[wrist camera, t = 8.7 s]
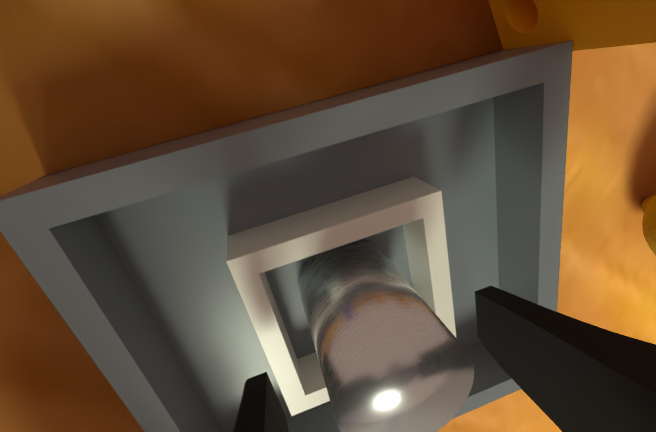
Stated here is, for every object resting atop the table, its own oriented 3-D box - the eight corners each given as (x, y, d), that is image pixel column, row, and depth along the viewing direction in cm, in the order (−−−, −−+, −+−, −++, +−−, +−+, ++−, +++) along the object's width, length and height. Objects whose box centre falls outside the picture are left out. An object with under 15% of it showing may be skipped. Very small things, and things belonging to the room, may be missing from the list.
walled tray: (508, 334, 19) (552, 374, 17) (214, 454, 17) (210, 524, 14) (503, 49, 13) (573, 40, 11) (45, 175, 11) (-18, 205, 8)
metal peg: (396, 296, 15) (481, 411, 10) (315, 331, 15) (358, 470, 10) (375, 222, 14) (463, 311, 8) (284, 259, 13) (314, 377, 8)
